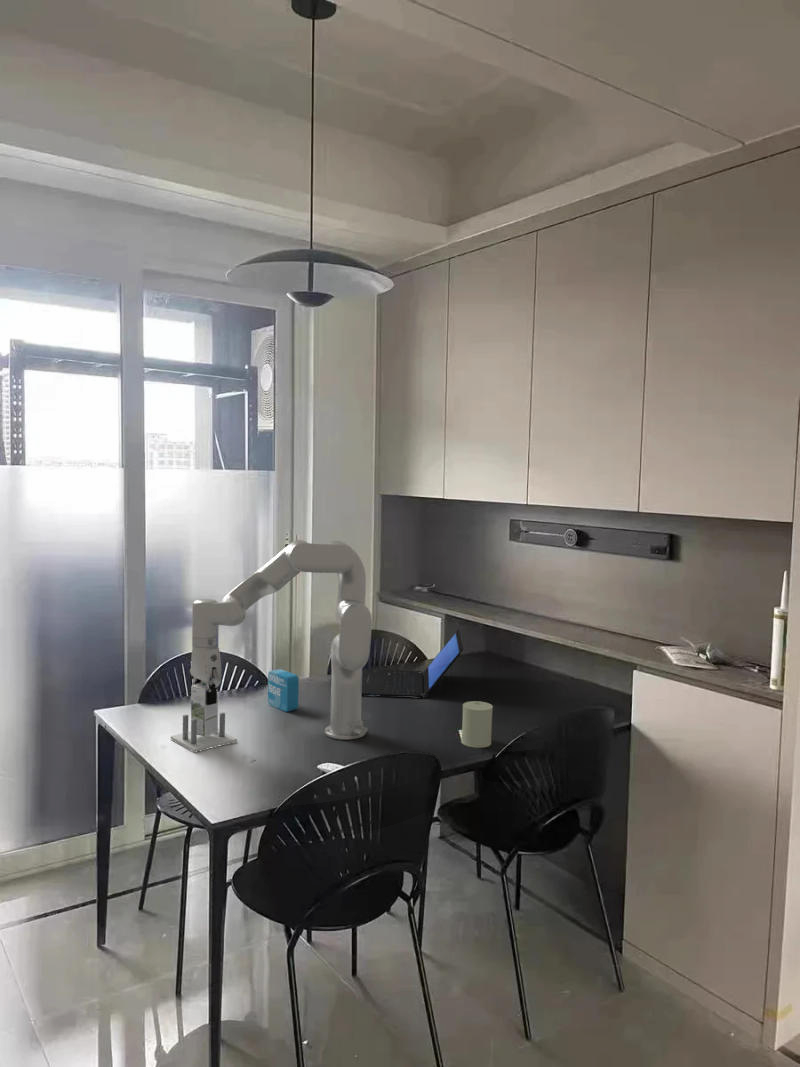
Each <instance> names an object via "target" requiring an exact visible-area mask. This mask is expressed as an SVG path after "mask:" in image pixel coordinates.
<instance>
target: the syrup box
mask: <svg viewBox="0 0 800 1067" xmlns="http://www.w3.org/2000/svg"><path fill="white" fill-rule="evenodd" d="M212 684H213V683H210V686H211V685H212ZM190 690H191V691H190V702H191V703H190V704H191V705H190V707H191V709H190V720H191V719H197V735H201V736H208V735H211V734H213V733H216V732H218V730H219V728H218V727H219V723H218V722H219V720H218V719H219V716H218V715H219V689H218V690H217V703H216V704H212V705H206V692H207V691H208V690H207V685H206V682H204V681H203V682H201V683H197V684H195V685H191V687H190Z"/></svg>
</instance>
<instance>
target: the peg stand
mask: <svg viewBox="0 0 800 1067" xmlns="http://www.w3.org/2000/svg"><path fill="white" fill-rule="evenodd" d="M218 727H219V728H218V732H216V733H213V734H211V735H208V736H201V735H197V719H191V718H190V731H189V714H182V733H178V734H175V735H174V734H173V735H170V740H171V739H172V740H174V741H176V742H177V744H178V743H179V744H178V745H180V744H181V745H183V746H184V747H183V746H182V747H183V748H185V747H186V748H185V749H187V748H188V749H190V750H192V751H194V752H196V751H200V750H204V749H207V748H210V747H215V746H218V745H223V744H228V743H232V744H234V743H233V742H236V743H238V738H236V737H234V736H233V735H230V734H228V733H226V712H220V713H219V724H218ZM172 740H171V741H172ZM174 741H173V742H174ZM176 742H175V743H176ZM181 745H180V746H181ZM228 745H229V744H228ZM188 749H187V750H188ZM190 750H189V751H190ZM192 751H191V752H192ZM204 751H205V750H204ZM194 752H193V753H194ZM200 752H201V751H200ZM196 753H197V752H196Z"/></svg>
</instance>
